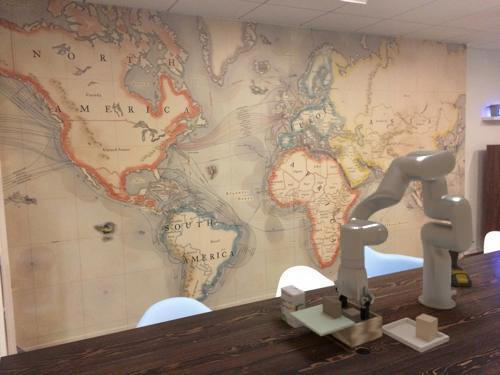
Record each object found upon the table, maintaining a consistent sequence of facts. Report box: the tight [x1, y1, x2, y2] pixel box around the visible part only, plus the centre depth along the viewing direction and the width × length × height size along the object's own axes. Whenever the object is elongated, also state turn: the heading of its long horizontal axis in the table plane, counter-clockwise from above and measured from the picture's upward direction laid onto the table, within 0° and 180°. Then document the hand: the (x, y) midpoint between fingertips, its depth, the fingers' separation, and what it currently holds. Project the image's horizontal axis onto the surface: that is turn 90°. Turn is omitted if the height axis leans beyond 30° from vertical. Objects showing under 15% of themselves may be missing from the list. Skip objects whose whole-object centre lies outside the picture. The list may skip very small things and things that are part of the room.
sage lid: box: [290, 294, 355, 337], centre depth 109 cm, size 13×16×6 cm
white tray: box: [382, 317, 450, 354], centre depth 111 cm, size 13×15×2 cm
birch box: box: [328, 299, 383, 348], centre depth 115 cm, size 13×16×7 cm
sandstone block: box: [415, 313, 439, 342], centre depth 110 cm, size 4×4×6 cm
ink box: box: [280, 284, 306, 329], centre depth 124 cm, size 8×5×12 cm, turn 27°
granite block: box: [342, 308, 363, 324], centre depth 116 cm, size 4×4×6 cm
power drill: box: [448, 240, 475, 288], centre depth 154 cm, size 20×9×25 cm, turn 179°
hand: (353, 313), depth 115 cm, fingers open, 9 cm apart
